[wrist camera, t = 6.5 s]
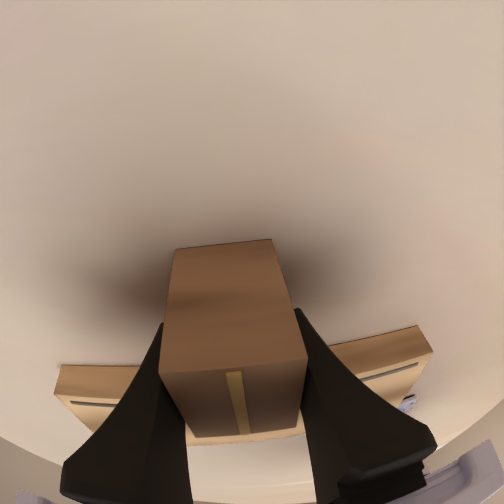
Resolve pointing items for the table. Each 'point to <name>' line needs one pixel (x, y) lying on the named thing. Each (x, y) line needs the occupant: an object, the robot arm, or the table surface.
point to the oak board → (352, 356)
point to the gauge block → (232, 341)
